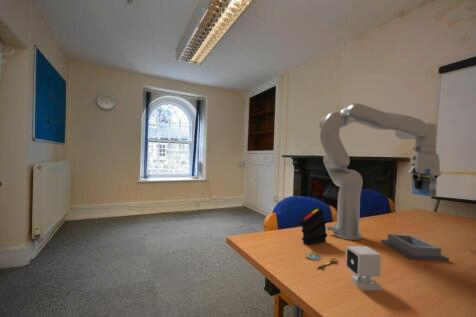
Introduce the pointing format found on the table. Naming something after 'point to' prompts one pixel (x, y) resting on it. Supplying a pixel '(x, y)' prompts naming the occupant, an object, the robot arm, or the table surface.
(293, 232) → the table surface
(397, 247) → the slot holder
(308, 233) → the black ridged block
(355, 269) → the security camera
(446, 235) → the table surface
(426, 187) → the label tape box
